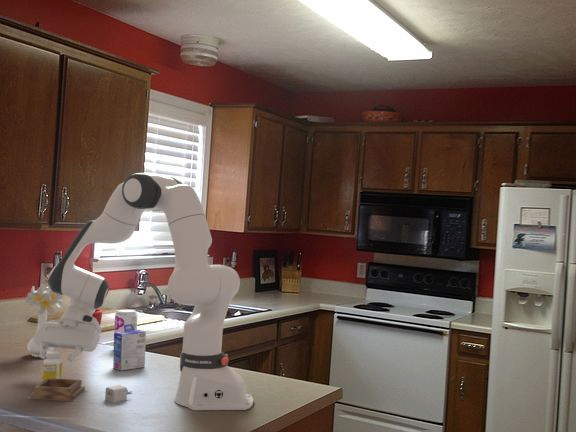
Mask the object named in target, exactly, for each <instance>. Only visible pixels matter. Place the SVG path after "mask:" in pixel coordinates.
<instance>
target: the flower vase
mask: <svg viewBox="0 0 576 432" xmlns="http://www.w3.org/2000/svg"><path fill="white" fill-rule="evenodd" d="M64 300H65V298H64V296H63V295H61V294H58V293H55V292H52V290H51V289H50V287H46V284H43V283H41V284H40V286H39V287H37V290H35V286H34V285H32V287H31V290H30V291H29V292H28V293H27V295H26V297H25V302H24V303H23V305H26V304H27V303H28V304H27V306H28V307H32V306H34V305H35V306H37V310H38V311H37V313H38V314H37V325H36V326H37V327H36V331H35V333H36V332H37V331H38V329H39V328H40V327H41V325H42V324H43V322H45V321H48V313H49V314H52V315H53V314H54V313H55V309H54V308H53V306H56V307H57V308H61V307H62V306H63V302H62V301H64ZM26 347H27V350H28V352H29V353H30V354H31V357H33V356H34V358H40V356H39V355H40V353H41V346H37V345H36V343H35V342H34V339H33V337H32V338H31V339H30V340H29V341H28V343H27V345H26ZM45 351H46V352H48V351H55V348H51V347H48V349H47V350H46V349H45Z"/></svg>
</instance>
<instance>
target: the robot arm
mask: <svg viewBox="0 0 576 432" xmlns="http://www.w3.org/2000/svg"><path fill="white" fill-rule="evenodd" d="M146 210H147V211H151V212H163V213H164V215H165V217H166V221H167V224H168V225H167V226H168V229H169V232H170V236H171V240H172V244H173V249H174V256H175V257H174V259H175V260H174V261H175V262H174V268H173V272H172V273H171V275H170V277H169V279H168V282H167V289H168V290H167V291H168V294H169V297H170V298H171V300H173V301H174V302H175V303H177V304H179V305H183V306H191V307H192V306H194V307H193V310H192V312H191V314H190V316H189V317H188V318H187V319H186V321H185V322H184V325H183V335H182V338H183V339H182V350H181V352H180V356H179V357H180V358H179V359H180V360H179V371H180V376H179V381H178V387H177V390H176V394H175V397H174V401H173V402H175V403H176V404H178V405H179V406H183V407H186V408H187V409H190V410H192V411H246V410H249V409H251V408H252V407H253V405H254V398H253V396H252V395H251V394H249V393H247V387H246V383H245V380H244V378H242V377H241V375H239V374H238V373H237V372H235V371H234V370H233V369H232V368H231V367H229V366H228V365H229V361H230V360H229V355H228V353H224V352H223V351H222V345H223V332H224V324H225V319H226V316H227V314H228V313H227V312H228V310H229V307H230V304H231V303H232V300H233V298H234V297H235V296H236V295H237V293H239V290H240V286H241V278H240V275H239V274H238V271H236V270H235V269H234V268H232V267H230V266H227V265H224V264H209V262H208V259H209V258H208V253H209V252H208V251H209V248H210V247H211V246H212V242H213V239H212V234H211V231H210V227H209V223H208V220H207V218H206V214H205V210H204V208H203V205H202V203H201V201H200V198H199V196H198V195H197V192H196V190H195V189H194V188H193V187H192V186H191V185H188V184H183V182H182V181H180V180H179V179H177V178H174V177H170V176H169V177H168V176H166V175H161V174H158V173H144V172H138V173H133V174H129V175H128V176H127V177H126V178H125V180H124V182H122V183H119V184H118V185H117V187H116V188H115V190H114V191H113V192H112V194H111V196H110V197H109V199H108V200H107V203H106V205H105V207H104V209H103V211H102V213H101V214H100V216H98V218H96V219H94V220H93V219H92V220H91V219H90V220H89V221H87V222H86V223H85V224H84V225H83V227H82V228H81V230H80V231H79V232H78V233H77V235H76V237H75V238H74V239H73V241H72V242H71V244H70V245H69V246H68V249H67V250H66V251H65V253H64V254H63V256H62V257H61V258H60V260H59V262H58V263H56V265H54V267H53V268H52V269H51V271H50V272H49V274H48V277H47V281H46V282H47V284H48V286H49V287H50V289H51V290H52V292H55V293H58V294H61V296H66V297H68V298H69V303H68V305H67V306H66V307H65V309H64V311H63V313H62V314H61V317H60V319H58V320H57V319H47V321H45V322H43V324H42V325H41V327H40V328H39V329H38V331H37V330H36V331H37V332H36V331H35V334H34V335H33V337H32V338H33V339H34V342H35V343H36V345H37V346H41V353H40V355H39V356H40V357H39V358H40V359H44V360H45V359H47V357H46V351H45V349H46V350H47V349H48V347H51V348H54V349H59V350H61V349H63V350H71V351H73V352H72V353H69V354H68V356H67V360H68V362H74V361H75V360H76V359H77V358H78V357H79V356H80V355H81V354H82V352H88V353H89V352H93V351H95V350H96V348H97V346H98V344H99V341H100V334H101V333H102V330H103V329H102V327H101V324H100V325H99V323H98V321H97V320H96V318H94V317H92V314H93V313H94V312H95V310H96V309H100V308H101V307H102V306H103V304H104V301H105V299H106V297H107V296H108V294H109V291H110V286H109V283H108V281H107V279H106V278H105V277H103V276H101V275H99V274H97V273H94V272H92V271H91V272H90V271H89V270H86V269H84V268H81V267H79V266H77V265H76V264H75V262H76V261H77V259H78V258H79V256H80V254H81V253H82V252H83V250H84V249H85V247H86V246H89V245H91V244H96V243H98V244H119V243H122V242H125V241H127V240H129V238H131V237H132V235H133V233H135V230H136V228H137V226H138V224H139V221H140V219H141V216H142V214H143V213H144V212H145V211H146ZM49 287H48V288H49Z"/></svg>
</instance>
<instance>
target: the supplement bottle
mask: <svg viewBox="0 0 576 432" xmlns="http://www.w3.org/2000/svg"><path fill="white" fill-rule="evenodd" d="M60 357H61V351H59V350H53V351H48V352H46V359H44V360H43V362H42V363H43V366H42V367H43V368H42V381H44V380H45V379H47V378H55V379H63V377H62V376H63V360H62V358H60Z"/></svg>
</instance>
